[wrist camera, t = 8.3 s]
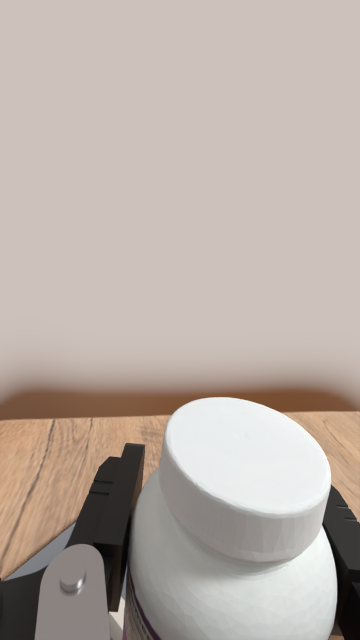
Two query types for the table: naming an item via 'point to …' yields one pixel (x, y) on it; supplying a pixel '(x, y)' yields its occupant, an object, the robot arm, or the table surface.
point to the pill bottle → (232, 531)
